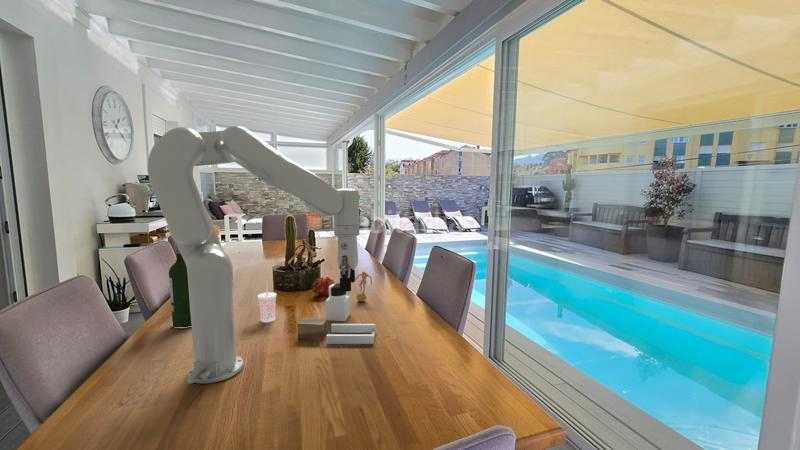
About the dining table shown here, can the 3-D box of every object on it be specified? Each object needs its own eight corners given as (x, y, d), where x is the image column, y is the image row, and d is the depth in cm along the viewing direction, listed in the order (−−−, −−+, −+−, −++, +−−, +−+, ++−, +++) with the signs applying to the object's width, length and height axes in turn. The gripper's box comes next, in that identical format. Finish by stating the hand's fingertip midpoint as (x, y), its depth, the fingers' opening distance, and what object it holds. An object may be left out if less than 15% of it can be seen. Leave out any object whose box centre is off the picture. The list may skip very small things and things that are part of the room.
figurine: (349, 301, 144) (349, 272, 143) (358, 297, 150) (357, 269, 148) (367, 304, 141) (367, 274, 139) (375, 300, 146) (375, 271, 144)
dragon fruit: (310, 301, 148) (333, 299, 157) (321, 293, 144) (344, 290, 153) (304, 283, 152) (327, 281, 161) (315, 274, 147) (338, 272, 156)
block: (323, 340, 109) (322, 324, 108) (297, 339, 110) (297, 323, 109) (328, 333, 114) (327, 318, 113) (303, 332, 115) (303, 317, 114)
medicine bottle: (350, 314, 130) (349, 282, 129) (345, 321, 123) (344, 287, 122) (331, 313, 131) (330, 281, 130) (325, 321, 124) (324, 287, 122)
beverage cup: (255, 322, 123) (253, 282, 121) (265, 315, 129) (264, 277, 127) (270, 324, 121) (269, 283, 120) (281, 317, 127) (279, 278, 126)
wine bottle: (175, 321, 123) (169, 235, 120) (201, 318, 126) (196, 234, 122) (170, 330, 116) (162, 239, 112) (198, 327, 118) (191, 237, 115)
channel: (373, 343, 106) (373, 335, 106) (326, 343, 106) (326, 335, 106) (375, 331, 115) (375, 323, 115) (331, 331, 115) (331, 323, 115)
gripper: (356, 234, 98) (356, 295, 100) (362, 226, 115) (362, 278, 117) (328, 234, 98) (330, 295, 100) (338, 226, 115) (340, 278, 117)
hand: (347, 286), depth 109 cm, fingers open, 9 cm apart
